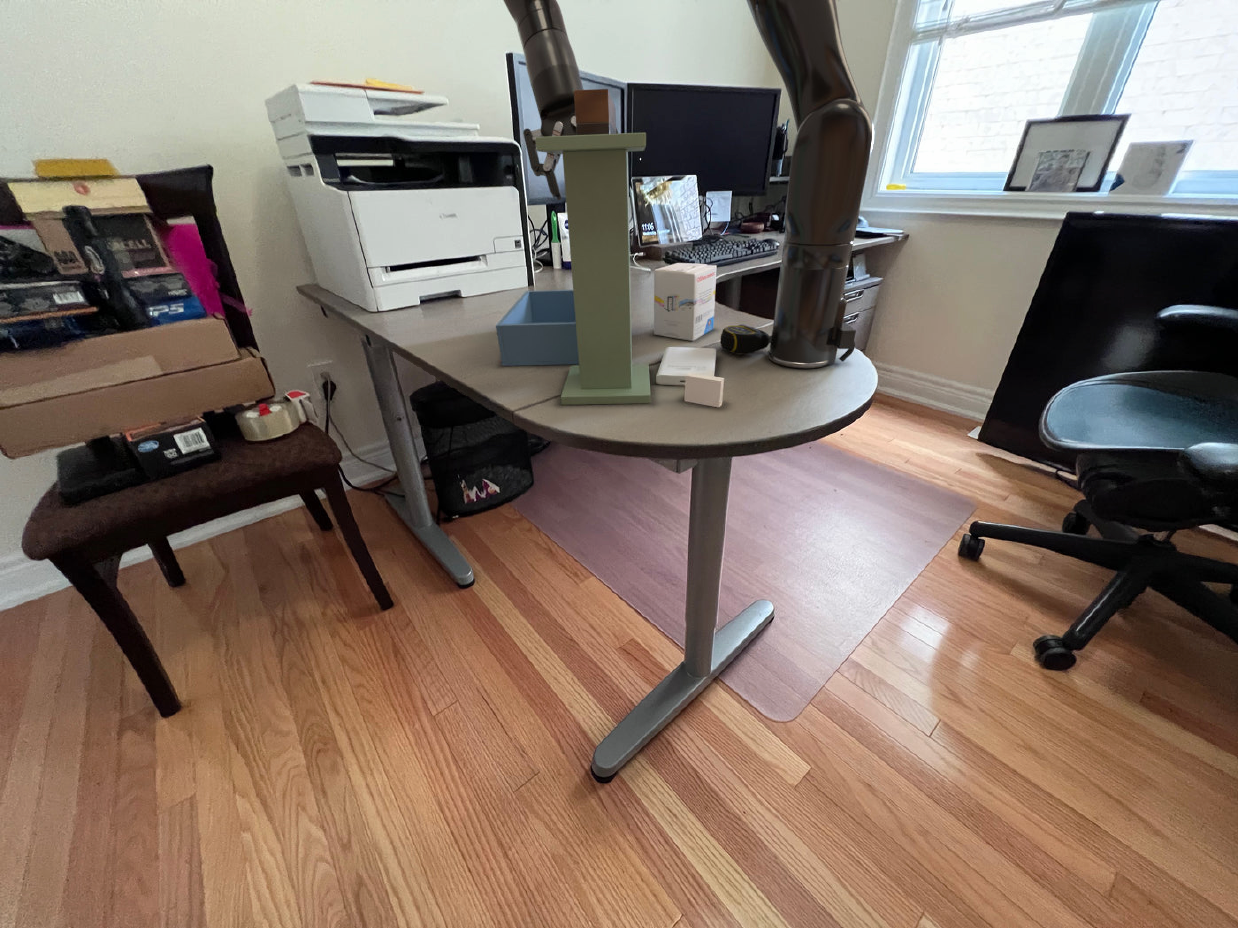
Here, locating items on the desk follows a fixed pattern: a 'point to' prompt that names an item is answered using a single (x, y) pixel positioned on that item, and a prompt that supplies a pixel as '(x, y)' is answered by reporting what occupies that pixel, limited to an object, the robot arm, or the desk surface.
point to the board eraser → (594, 112)
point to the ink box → (684, 300)
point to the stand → (600, 267)
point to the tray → (539, 330)
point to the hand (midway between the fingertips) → (585, 190)
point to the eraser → (704, 389)
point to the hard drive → (685, 364)
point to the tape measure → (743, 339)
